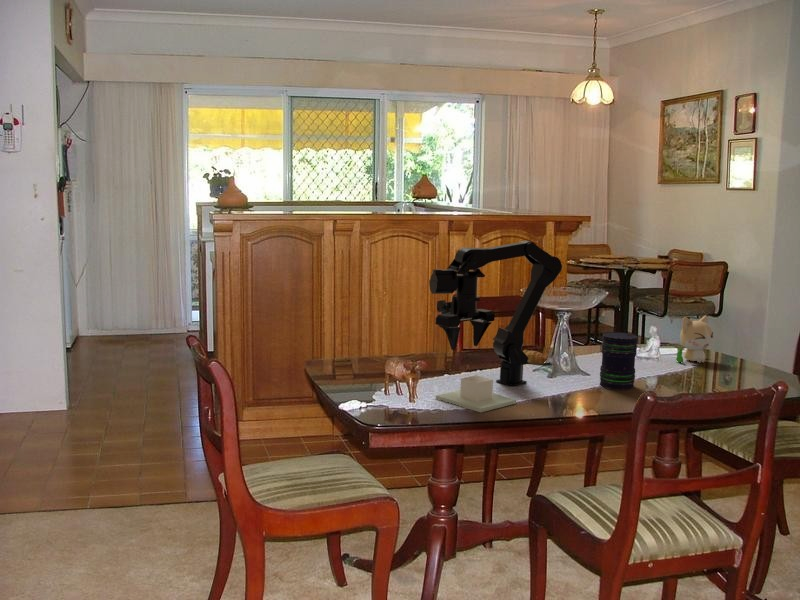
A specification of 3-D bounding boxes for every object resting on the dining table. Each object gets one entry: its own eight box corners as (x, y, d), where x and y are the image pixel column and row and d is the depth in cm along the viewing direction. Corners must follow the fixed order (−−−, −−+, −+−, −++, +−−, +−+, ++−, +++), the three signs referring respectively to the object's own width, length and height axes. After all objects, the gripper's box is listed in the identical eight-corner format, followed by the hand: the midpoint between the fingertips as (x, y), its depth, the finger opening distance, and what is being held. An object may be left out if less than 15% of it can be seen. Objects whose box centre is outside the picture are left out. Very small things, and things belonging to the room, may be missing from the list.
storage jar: (609, 391, 237) (613, 339, 235) (592, 382, 246) (596, 332, 244) (641, 389, 240) (644, 338, 238) (623, 381, 249) (626, 331, 247)
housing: (475, 393, 227) (476, 375, 226) (492, 398, 223) (493, 379, 222) (460, 396, 223) (460, 378, 222) (477, 401, 219) (477, 383, 218)
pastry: (553, 362, 272) (554, 351, 272) (546, 366, 266) (547, 355, 266) (526, 359, 277) (526, 347, 276) (518, 363, 271) (519, 351, 270)
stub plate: (471, 390, 233) (471, 378, 233) (516, 403, 222) (516, 390, 221) (435, 398, 224) (436, 386, 224) (480, 412, 212) (481, 399, 212)
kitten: (688, 366, 271) (692, 320, 269) (665, 359, 280) (668, 315, 278) (721, 362, 278) (725, 317, 276) (698, 356, 287) (701, 313, 284)
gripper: (468, 287, 246) (466, 339, 249) (422, 292, 234) (420, 347, 236) (497, 291, 238) (494, 345, 241) (451, 297, 226) (449, 354, 228)
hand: (464, 347), depth 237 cm, fingers open, 9 cm apart
